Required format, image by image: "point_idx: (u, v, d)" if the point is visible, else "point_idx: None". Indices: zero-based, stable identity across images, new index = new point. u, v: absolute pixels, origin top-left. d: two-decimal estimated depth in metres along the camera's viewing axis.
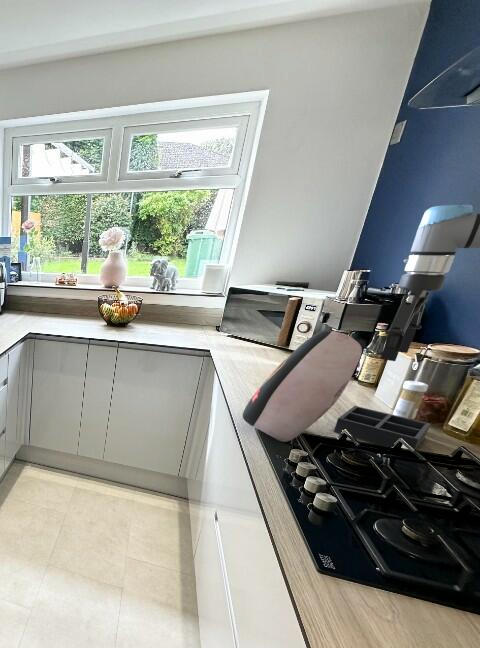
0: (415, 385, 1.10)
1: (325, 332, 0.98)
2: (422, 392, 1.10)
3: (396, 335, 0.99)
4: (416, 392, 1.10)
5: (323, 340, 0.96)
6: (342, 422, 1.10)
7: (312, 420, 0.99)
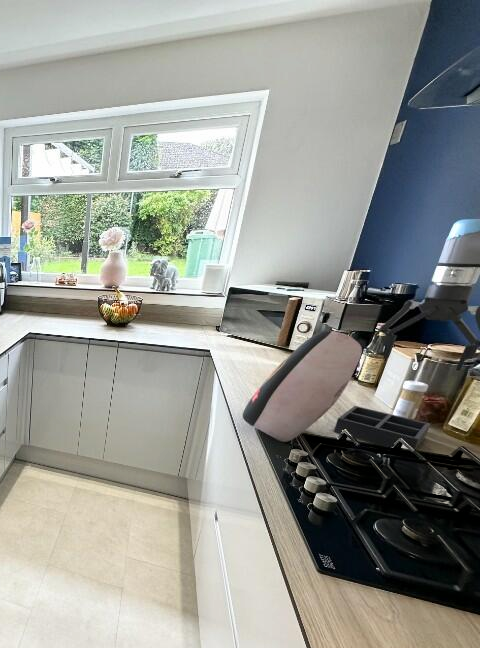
0: (415, 385, 1.10)
1: (325, 332, 0.98)
2: (422, 392, 1.10)
3: None
4: (416, 392, 1.10)
5: (323, 340, 0.96)
6: (342, 422, 1.10)
7: (312, 420, 0.99)
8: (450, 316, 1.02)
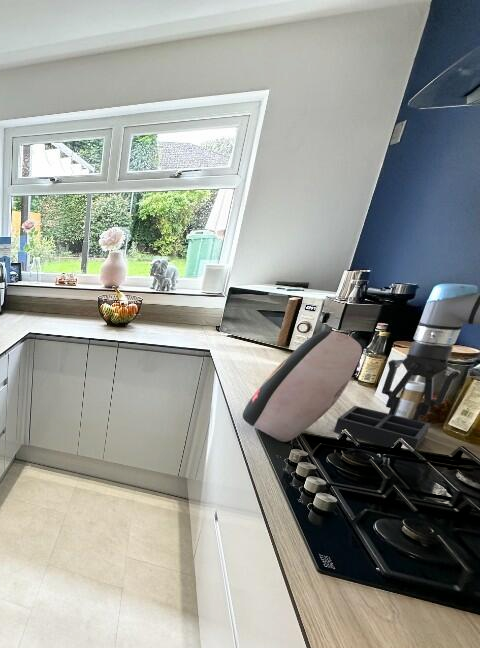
0: (415, 385, 1.10)
1: (325, 332, 0.98)
2: (422, 392, 1.10)
3: (432, 404, 1.09)
4: (417, 392, 1.10)
5: (323, 340, 0.96)
6: (342, 422, 1.10)
7: (312, 420, 0.99)
8: (431, 373, 1.07)
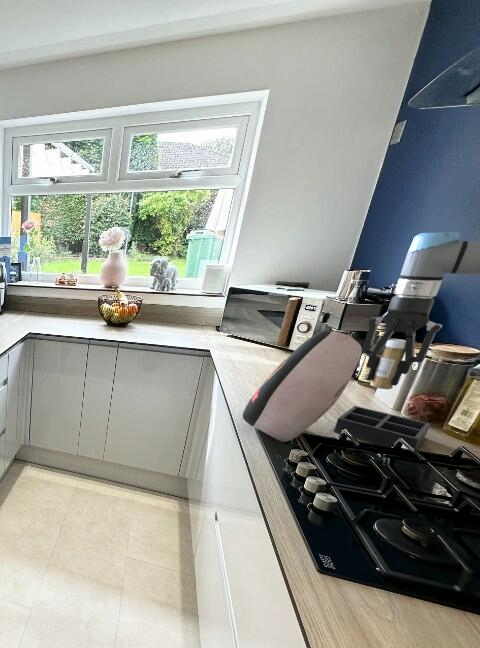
0: (396, 342, 1.05)
1: (325, 332, 0.98)
2: (403, 349, 1.05)
3: None
4: (397, 349, 1.05)
5: (323, 340, 0.96)
6: (342, 422, 1.10)
7: (312, 420, 0.99)
8: (412, 328, 1.02)
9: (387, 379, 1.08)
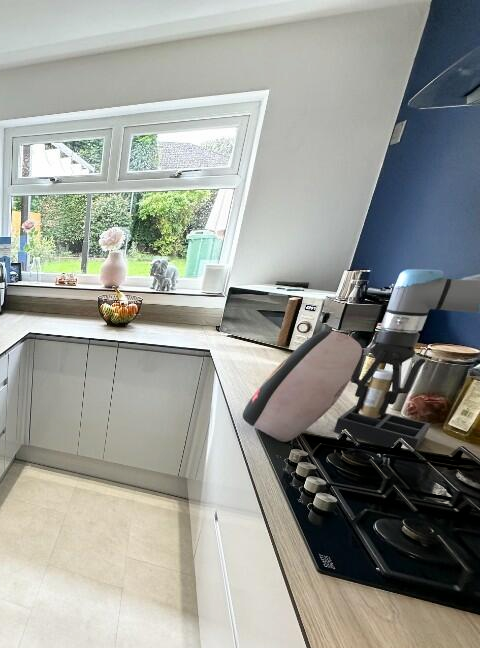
0: (383, 373, 1.08)
1: (325, 332, 0.98)
2: (390, 380, 1.08)
3: None
4: (384, 381, 1.08)
5: (323, 340, 0.96)
6: (342, 422, 1.10)
7: (312, 420, 0.99)
8: (398, 361, 1.05)
9: (374, 409, 1.11)
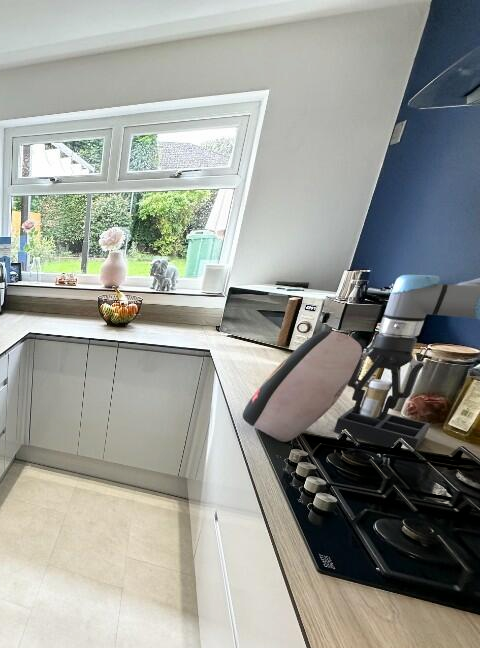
0: (379, 383, 1.09)
1: (325, 332, 0.98)
2: (386, 390, 1.09)
3: (400, 397, 1.08)
4: (381, 391, 1.09)
5: (323, 340, 0.96)
6: (342, 422, 1.10)
7: (312, 420, 0.99)
8: (396, 365, 1.06)
9: None
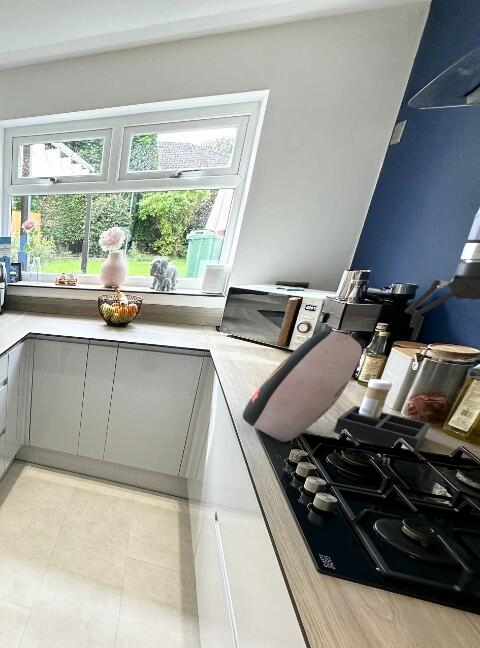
0: (379, 383, 1.09)
1: (325, 332, 0.98)
2: (386, 390, 1.09)
3: None
4: (381, 391, 1.09)
5: (323, 340, 0.96)
6: (342, 422, 1.10)
7: (312, 420, 0.99)
8: None
9: None
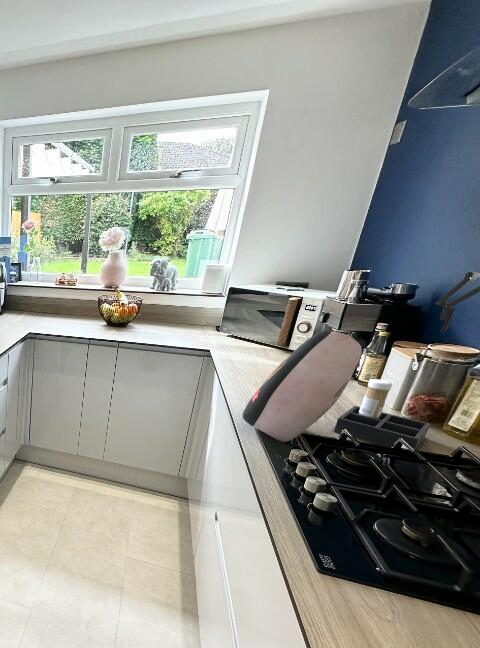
0: (379, 383, 1.09)
1: (325, 332, 0.98)
2: (386, 390, 1.09)
3: None
4: (381, 391, 1.09)
5: (323, 340, 0.96)
6: (342, 422, 1.10)
7: (312, 420, 0.99)
8: None
9: None
